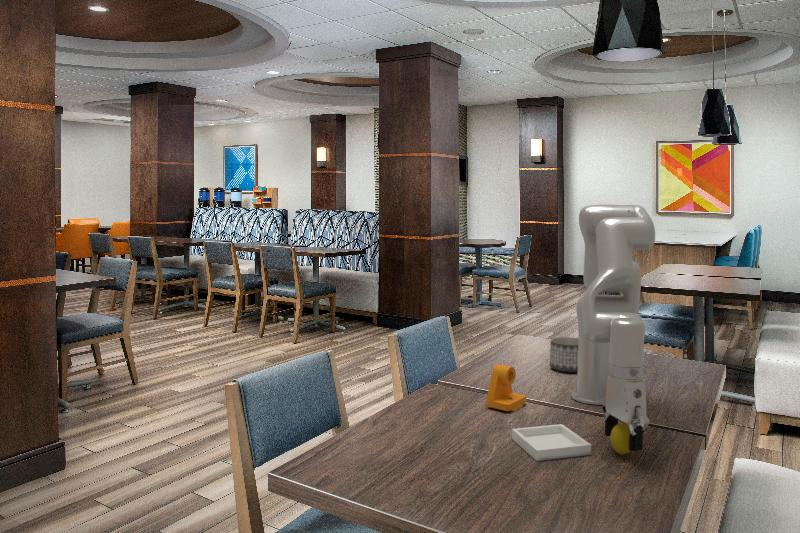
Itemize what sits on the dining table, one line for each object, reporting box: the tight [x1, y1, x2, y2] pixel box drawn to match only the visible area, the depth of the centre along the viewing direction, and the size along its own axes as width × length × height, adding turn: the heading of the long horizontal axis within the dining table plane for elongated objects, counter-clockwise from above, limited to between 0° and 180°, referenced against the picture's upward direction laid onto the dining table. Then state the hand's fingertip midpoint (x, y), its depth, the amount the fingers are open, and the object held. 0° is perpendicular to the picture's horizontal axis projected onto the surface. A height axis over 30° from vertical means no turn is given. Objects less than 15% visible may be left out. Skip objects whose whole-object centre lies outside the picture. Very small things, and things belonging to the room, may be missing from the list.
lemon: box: [609, 421, 632, 456], centre depth 149 cm, size 6×6×8 cm
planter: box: [549, 336, 579, 373], centre depth 222 cm, size 13×13×10 cm
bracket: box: [486, 363, 527, 413], centre depth 183 cm, size 11×7×12 cm, turn 139°
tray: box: [511, 423, 592, 462], centre depth 154 cm, size 14×14×2 cm
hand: (622, 442), depth 149 cm, fingers open, 9 cm apart
